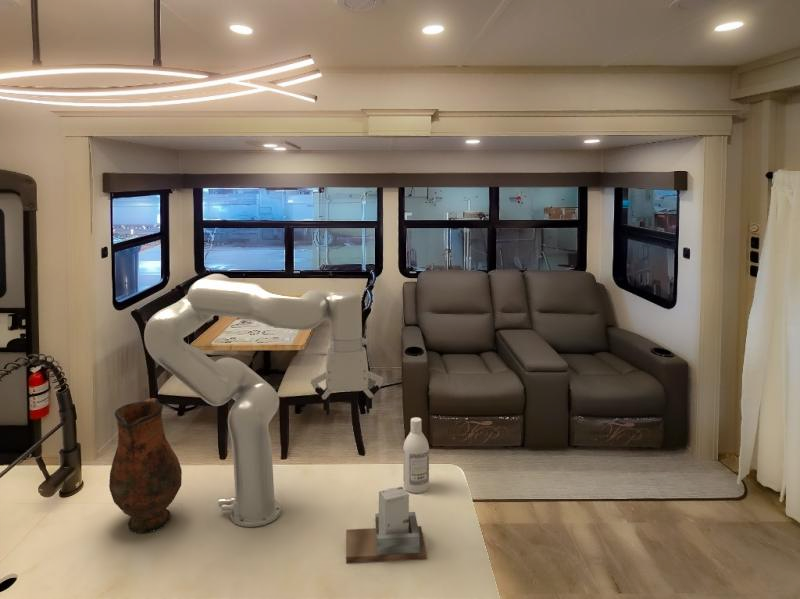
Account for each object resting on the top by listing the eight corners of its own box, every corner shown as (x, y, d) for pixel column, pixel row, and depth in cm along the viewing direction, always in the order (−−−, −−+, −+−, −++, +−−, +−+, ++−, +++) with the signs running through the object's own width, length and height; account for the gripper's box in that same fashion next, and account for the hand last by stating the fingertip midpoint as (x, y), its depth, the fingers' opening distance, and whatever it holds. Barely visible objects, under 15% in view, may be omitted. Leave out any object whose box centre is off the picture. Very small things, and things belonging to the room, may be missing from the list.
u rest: (346, 563, 143) (345, 540, 142) (346, 535, 154) (345, 514, 153) (426, 558, 144) (426, 536, 143) (421, 531, 155) (421, 510, 154)
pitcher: (102, 542, 151) (89, 423, 145) (133, 496, 172) (122, 390, 166) (174, 539, 152) (163, 421, 146) (196, 494, 173) (188, 389, 167)
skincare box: (385, 548, 146) (384, 500, 143) (378, 538, 150) (377, 490, 147) (410, 542, 148) (409, 494, 146) (402, 532, 152) (401, 485, 150)
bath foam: (434, 488, 176) (434, 419, 171) (414, 496, 171) (414, 426, 167) (417, 479, 181) (417, 412, 177) (398, 486, 177) (397, 418, 172)
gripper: (382, 338, 156) (382, 405, 159) (310, 340, 155) (312, 407, 158) (383, 347, 149) (384, 416, 152) (308, 349, 147) (311, 419, 151)
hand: (348, 412), depth 155 cm, fingers open, 9 cm apart
